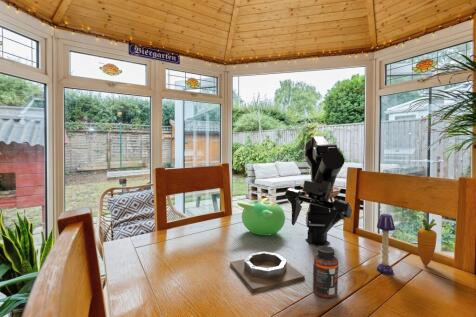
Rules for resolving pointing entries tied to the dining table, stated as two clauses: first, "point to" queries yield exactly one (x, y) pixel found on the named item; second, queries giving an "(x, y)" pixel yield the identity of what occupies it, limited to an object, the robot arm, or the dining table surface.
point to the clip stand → (263, 284)
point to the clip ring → (265, 272)
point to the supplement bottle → (325, 272)
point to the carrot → (426, 242)
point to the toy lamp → (385, 241)
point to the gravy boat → (262, 216)
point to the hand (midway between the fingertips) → (307, 229)
